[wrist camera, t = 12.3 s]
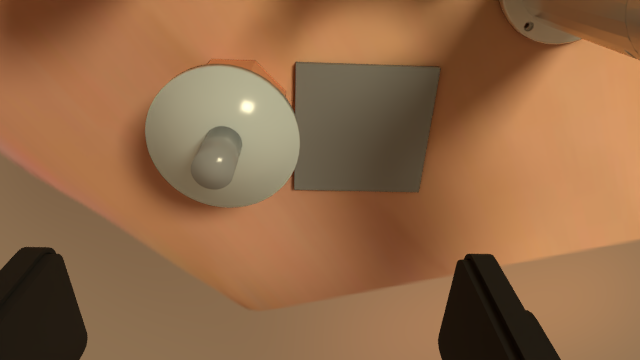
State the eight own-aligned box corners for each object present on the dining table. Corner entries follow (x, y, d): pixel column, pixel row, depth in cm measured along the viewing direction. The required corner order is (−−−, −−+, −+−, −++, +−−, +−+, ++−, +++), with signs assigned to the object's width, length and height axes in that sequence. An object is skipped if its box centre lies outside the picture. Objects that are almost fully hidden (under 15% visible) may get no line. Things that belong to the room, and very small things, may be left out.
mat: (439, 66, 42) (440, 68, 42) (417, 189, 49) (418, 192, 49) (295, 61, 42) (295, 63, 41) (294, 186, 49) (294, 189, 48)
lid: (301, 66, 35) (299, 89, 30) (298, 201, 41) (297, 241, 36) (137, 60, 35) (106, 84, 29) (161, 199, 41) (139, 239, 36)
